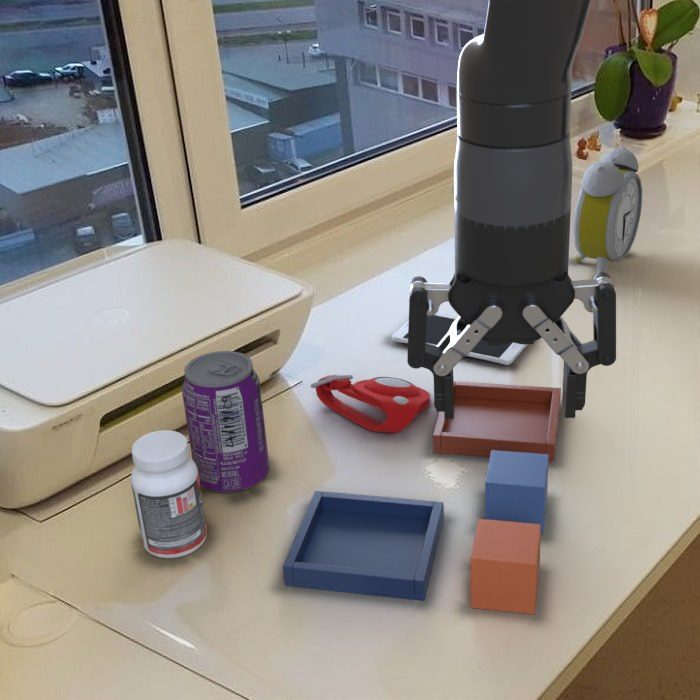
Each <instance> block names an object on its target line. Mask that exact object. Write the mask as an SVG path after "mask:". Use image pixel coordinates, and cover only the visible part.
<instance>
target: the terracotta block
mask: <svg viewBox="0 0 700 700" xmlns="http://www.w3.org/2000/svg"><path fill="white" fill-rule="evenodd" d="M541 536H542V535H541V525H540V524H531V523H520V522H509V521H498V520H487V519H485V518H478V519H477V523H476V528H475V533H474V539H473V544H472V548H471V552H470V553H471V554H470V608H472V609H480V610H488V611H489V610H490V611H499V612H506V613H507V612H508V613H517V614H524V615H525V614H526V615H535V614H536V608H537V599H538V589H539V588H538V587H539V581H540V579H539V578H540V563H541Z"/></svg>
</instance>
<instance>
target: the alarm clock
mask: <svg viewBox="0 0 700 700" xmlns="http://www.w3.org/2000/svg"><path fill="white" fill-rule="evenodd" d="M638 172H639V162H638V159H637V157H636V156H635V153H633V152H632V151H630V150H629V149H626V147H625V146H620V147H618V148H617V147H616V148H612V149H610V150H608V151H607V152H605V153H604V154H603V155H602V157H601V159H600V161H598V162H595V163H593V164H591V165H590V166H589V167H588V168H586V170H585V172H584V174H583V176H582V185H581V188H580V191H579V194H578V197H577V200H576V205H575V209H574V218H573V241H574V245H575V249H576V251H577V252H578V253H577V255H576V256H575V257H574V261H575V262H576V263H580V262H581V261H583V260H585V259H586V258H589V259H594V260H596V274H598V273H601V272H604V273H607V270H608V269H607V268H608V265H609V263H610V262H612V263H613V262H614V263H615V262H617V263H618V262H620V261H622V260H623V259H625V258H626V256H628V254H629V253H630V251H631V249H632V247H633V244H634V241H635V239H636V236H637V232H638V229H639V225H640V220H641V214H642V207H643V186H642V179H641V177H640V176H639V174H638Z"/></svg>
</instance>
